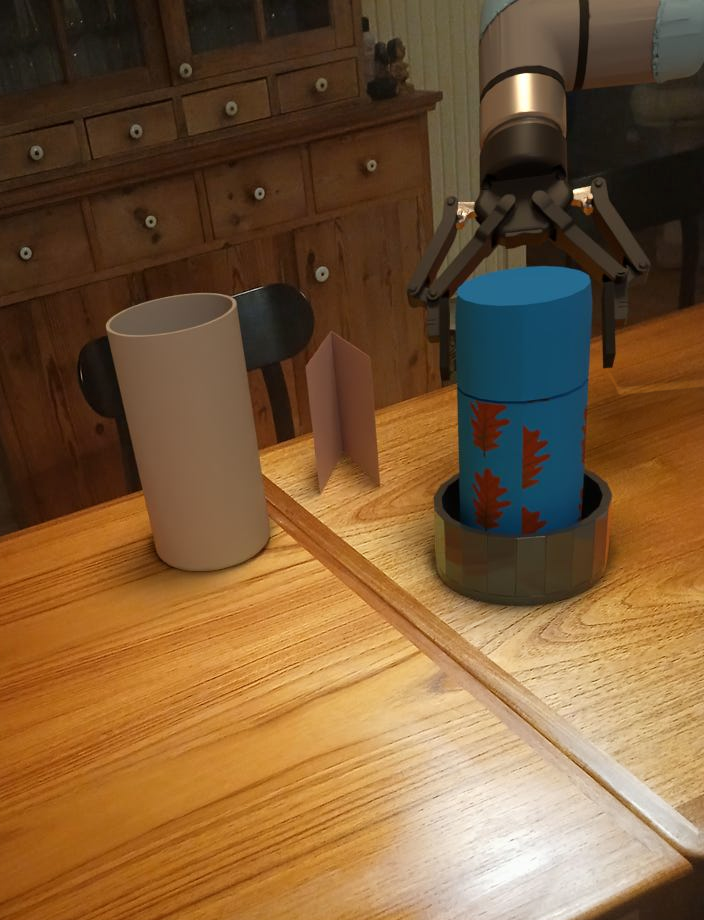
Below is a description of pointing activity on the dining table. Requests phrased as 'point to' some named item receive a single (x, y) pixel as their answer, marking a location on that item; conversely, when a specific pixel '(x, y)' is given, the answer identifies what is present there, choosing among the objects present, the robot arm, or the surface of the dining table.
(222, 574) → the dining table surface
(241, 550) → the cylinder vase
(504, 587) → the faceted round dish
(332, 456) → the greeting card
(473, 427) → the thermos
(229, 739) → the dining table surface
